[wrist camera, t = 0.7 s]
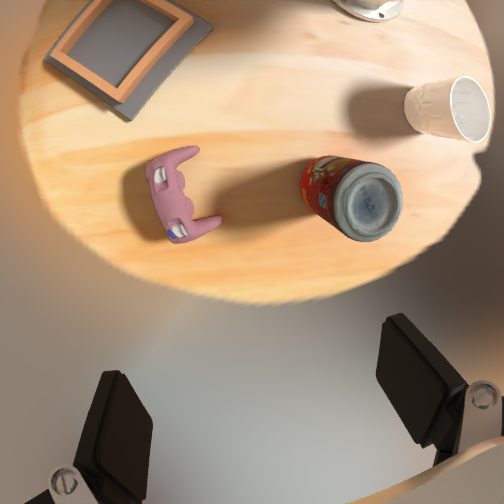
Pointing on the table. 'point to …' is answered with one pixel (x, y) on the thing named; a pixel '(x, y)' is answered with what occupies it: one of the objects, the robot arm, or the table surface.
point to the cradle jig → (126, 48)
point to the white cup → (449, 109)
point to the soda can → (353, 196)
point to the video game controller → (176, 197)
